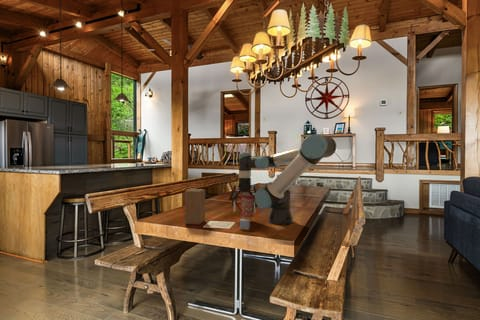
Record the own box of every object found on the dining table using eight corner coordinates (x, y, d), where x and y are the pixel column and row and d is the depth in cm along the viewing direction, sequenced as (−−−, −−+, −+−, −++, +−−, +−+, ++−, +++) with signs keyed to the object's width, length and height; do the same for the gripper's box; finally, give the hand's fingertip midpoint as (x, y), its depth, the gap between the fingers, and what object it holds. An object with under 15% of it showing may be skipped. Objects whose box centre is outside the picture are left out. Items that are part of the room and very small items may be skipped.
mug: (256, 214, 176) (256, 193, 175) (252, 217, 167) (252, 195, 167) (237, 213, 180) (237, 192, 179) (233, 216, 171) (233, 194, 171)
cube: (249, 227, 159) (249, 218, 159) (248, 229, 154) (248, 221, 154) (241, 227, 160) (241, 218, 160) (239, 229, 155) (239, 220, 155)
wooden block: (200, 225, 164) (199, 191, 163) (184, 224, 166) (183, 190, 165) (205, 220, 173) (205, 189, 173) (190, 220, 175) (190, 188, 175)
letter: (235, 222, 170) (235, 221, 170) (229, 228, 156) (229, 228, 156) (210, 221, 173) (210, 220, 173) (202, 227, 159) (202, 226, 159)
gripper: (264, 177, 174) (264, 211, 175) (227, 176, 179) (227, 209, 180) (263, 178, 166) (263, 214, 167) (224, 177, 171) (224, 212, 172)
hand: (244, 211), depth 173 cm, fingers closed on mug, 12 cm apart
